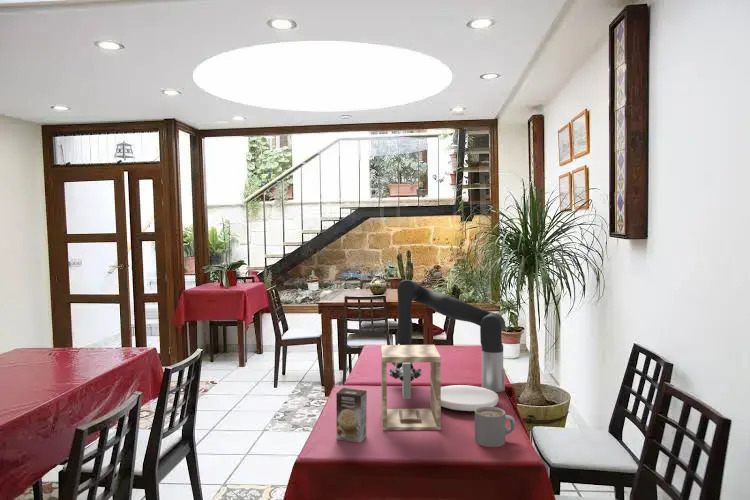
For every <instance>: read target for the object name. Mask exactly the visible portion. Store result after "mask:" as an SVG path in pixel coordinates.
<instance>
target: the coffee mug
mask: <svg viewBox="0 0 750 500" xmlns="http://www.w3.org/2000/svg"><path fill="white" fill-rule="evenodd" d="M507 421H509V422H510V426H509V428H507V427H506V423H507ZM515 428H516V421H515V419H514V417H513V416H511V415H507V414H506V411H505V410H504V409H503V408H500V407H496V406H494V407H479V408H477V409H475V411H474V442H475V443H476V444H478V445H479V446H482V447H485V448H486V447H488V448H498V447H499V448H500V447H502V446H504V445H505V444H506V436H507V435H510V434H511V433H513V432H514V431H515Z"/></svg>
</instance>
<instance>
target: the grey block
mask: <svg viewBox="0 0 750 500" xmlns="http://www.w3.org/2000/svg"><path fill="white" fill-rule="evenodd" d="M402 373H403V381H401V382H402V384H401V385H402V391H401V392H402V399H404V400H405V399H406V400H408V399H410V400H411V399H412V381H411V363H402Z"/></svg>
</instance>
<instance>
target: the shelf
mask: <svg viewBox="0 0 750 500" xmlns="http://www.w3.org/2000/svg"><path fill="white" fill-rule="evenodd" d="M380 347H381V348H380V350H381V351H380V355H381V356H380V359H381V360H380V361H381V364H380V365H381V367H380V368H381V371H380V373H381V374H380V375H381V377H380V378H381V381H380V382H381V424H382V431H425V430H426V431H436V430H438V431H440V430H442V417H441V416H442V408H441V407H442V406H441V387H442V384H441V383H442V382H441V381H442V379H441V378H442V375H441V374H442V371H441V370H442V369H441V367H442V366H441V365H442V362H441V361H442V360H441V359H442V358H441V357H442V356H441V355H440V353H439V351H438V350H437V347H436V346H435V344H411V345H400V344H392V345H391V344H383V345H382V344H381V345H380ZM392 363H412V364H413V363H429V365H430V366H429V367H430V369H429V370H430V374H429V377H430V378H429V379H430V381H429V382H430V383H429V384H430V385H429V386H430V387H429V388H430V389H429V390H430V395H429V397H430V408H388V398H387V397H388V391H387V390H388V389H387V388H388V386H387V385H388V384H387V383H388V381H387V380H388V379H387V371H388V368H387V365H388V364H392Z"/></svg>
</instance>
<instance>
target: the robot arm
mask: <svg viewBox="0 0 750 500" xmlns="http://www.w3.org/2000/svg"><path fill="white" fill-rule="evenodd" d="M396 293H397V309H398V310H397V311H398V312H397V313H398V315H397V327H396V328H397V329H396V330H397V331H396V338H395V339H396V340H395V341H396V344H397V345H412V335H413V320H412V304H413V303H412V302H415V303H419V304H421V305H425V306H427V307H428V308H430V309H432V310H433V311H434V312H437V313H439V314H440V315H442V316H445V317H448V318H450V319H453V320H456V321H457V320H458V321H462V322H468V323H471V324H474V325H477V326H479V334H480V337H479V338H480V345H481V388H486V389H489V390H491V391H493V392H495V393H500V392H505V382H506V380H505V371H506V370H505V368H504V344H503V338H502V337H503V336H502V332H503V330H504V329H505V328H506V321H505V319H504V318H503V316H502V315H501V314H499V313H497V312H493V311H489V310H485V309H483V308H479V307H476V306H474V305H472V304H470V303H467V302H466V301H463V300H461V299H458V298H456V297H453V296H451V295H448V294H445V293H442V292H437V291H433V290H430V289H428V288H426V287H425V286H422V285H421V284H419V283H418V282H416V281H413V280H410V279H404V280H401V281H400V282H399V283H398V285H397V291H396ZM391 364H392V365H393V366H394V367H395V368H394V369H392V368H390V369H389V377H392V378H393V379H395V380H397V379H398V378H399V380H400V381H401V382H402V381H403V373H402V363H391ZM421 376H422V368H418V369H415V368H414V365H413V363H411V382H413V381H414V380H415V379H419V378H420V377H421Z"/></svg>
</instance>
